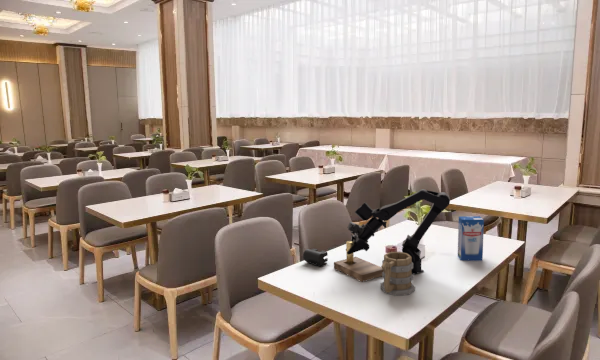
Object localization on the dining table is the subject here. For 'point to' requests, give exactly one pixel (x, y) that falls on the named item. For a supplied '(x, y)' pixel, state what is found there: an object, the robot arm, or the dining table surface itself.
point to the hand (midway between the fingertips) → (346, 252)
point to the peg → (351, 256)
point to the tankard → (397, 273)
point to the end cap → (315, 257)
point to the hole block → (359, 269)
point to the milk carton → (470, 238)
